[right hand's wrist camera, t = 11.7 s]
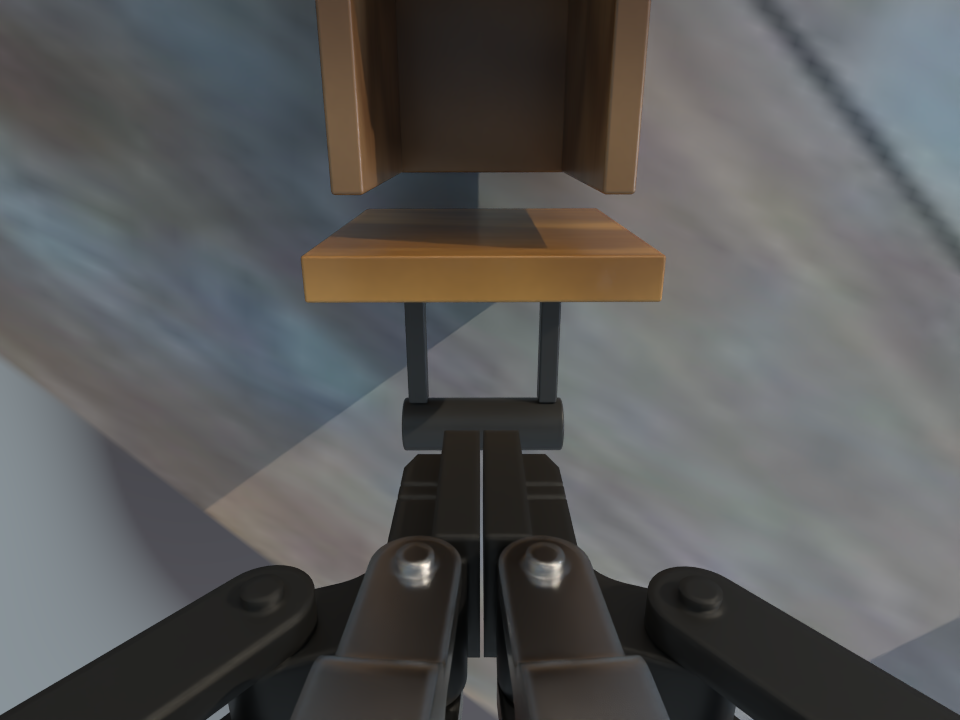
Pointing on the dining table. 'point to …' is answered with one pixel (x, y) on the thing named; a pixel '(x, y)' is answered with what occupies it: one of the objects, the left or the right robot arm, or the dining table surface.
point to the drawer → (483, 148)
